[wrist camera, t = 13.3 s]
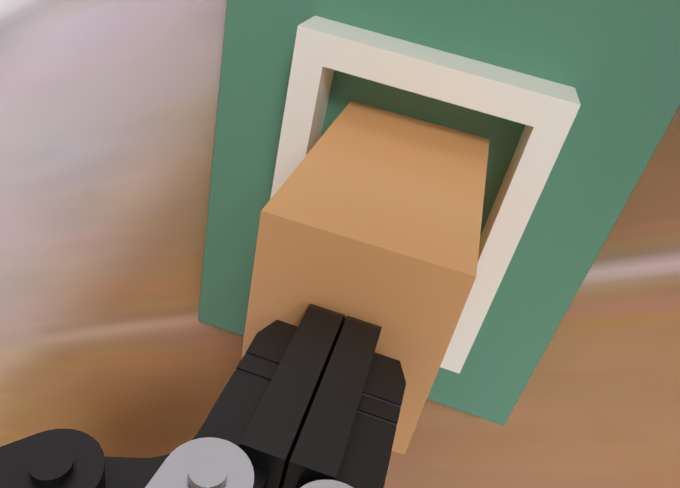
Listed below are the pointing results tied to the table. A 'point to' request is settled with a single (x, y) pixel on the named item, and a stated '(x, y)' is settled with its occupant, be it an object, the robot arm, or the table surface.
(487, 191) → the board
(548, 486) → the table surface
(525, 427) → the table surface
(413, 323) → the tan rectangular block
